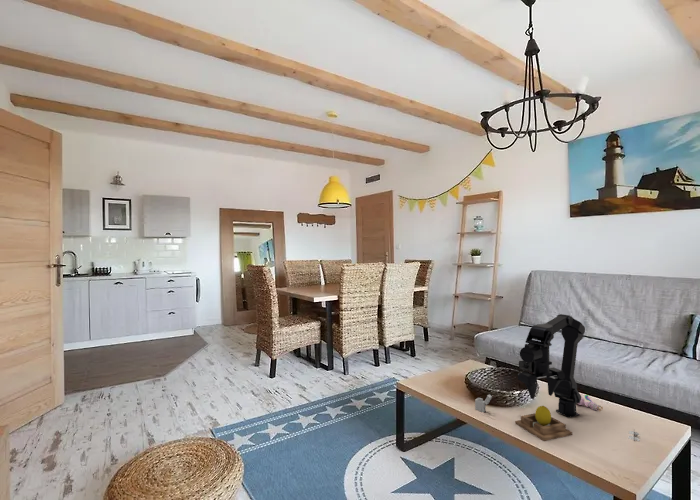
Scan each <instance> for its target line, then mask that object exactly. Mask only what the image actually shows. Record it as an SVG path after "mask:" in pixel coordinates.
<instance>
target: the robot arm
mask: <svg viewBox="0 0 700 500" xmlns="http://www.w3.org/2000/svg"><path fill="white" fill-rule="evenodd" d="M528 331H529V332H528V334H527V336H526V339H525V344H524V347H523V348H520V351H519V357H520V359H521V360H518V368H519V369H520V370H522V372H519V373H517V380H518V381H520V382H521V383H523V384H524V385H525V387H526V389H527V390H528V394H529V396H530V397H529V398H530V399H531V400H534V399H535V397H536V392H537V388H538V383H537V382H538V380H539V379H544V378H545V379H546V381H547V394H548V395H549V396H553V394H554V397H555V398H558V402H557V403H558V409H555V412H557V413H559V414H560V415H562V416H565V417H567V418H573V417H579V416H580V413H578V412H577V403H580V401H581V397H582V395H581V394H580V392H579V391H578V384H577V381H576V380H575V378H574V376H575V369H576V361H577V360H576V359H577V352H578V351H577V350H578V345H579V343H580V342H581V340H583V338H584V334H585V333H586V326H584V324H583V323H582V322H580V321H578V320H577V319H575V318H574V317H573V316H571V315H570V314H562V313H559V314H557V316H556V317H554V318H552V319H551V320H548V321H547V322H545V323H540V324H539V323H538V324H534V325H532V326H531V328H530V329H529V330H528ZM559 331H561V334H560V335H561V336H562V337H563V340H564V345H563V352H562V353H563V354H562V359H561V360H562V361H561V368H560V369H558V368H555V367H550V366H552V365H553V361H550V347H551V346H552V343H551V342H552V340H553V339H554V338H555V337H554V336H555V334H557V333H558V332H559ZM528 371H529V372H528Z"/></svg>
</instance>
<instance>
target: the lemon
mask: <svg viewBox="0 0 700 500" xmlns="http://www.w3.org/2000/svg"><path fill="white" fill-rule="evenodd" d="M534 413H535V417H536V420H537V422H538V423H540V424H541V425H542V426H545V425H548V424H549V423H550V422H551V417H552V415H551V411H550V409H549V408H548V407H547V406H544V405H540V406H538V407H536V409H535V412H534Z"/></svg>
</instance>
